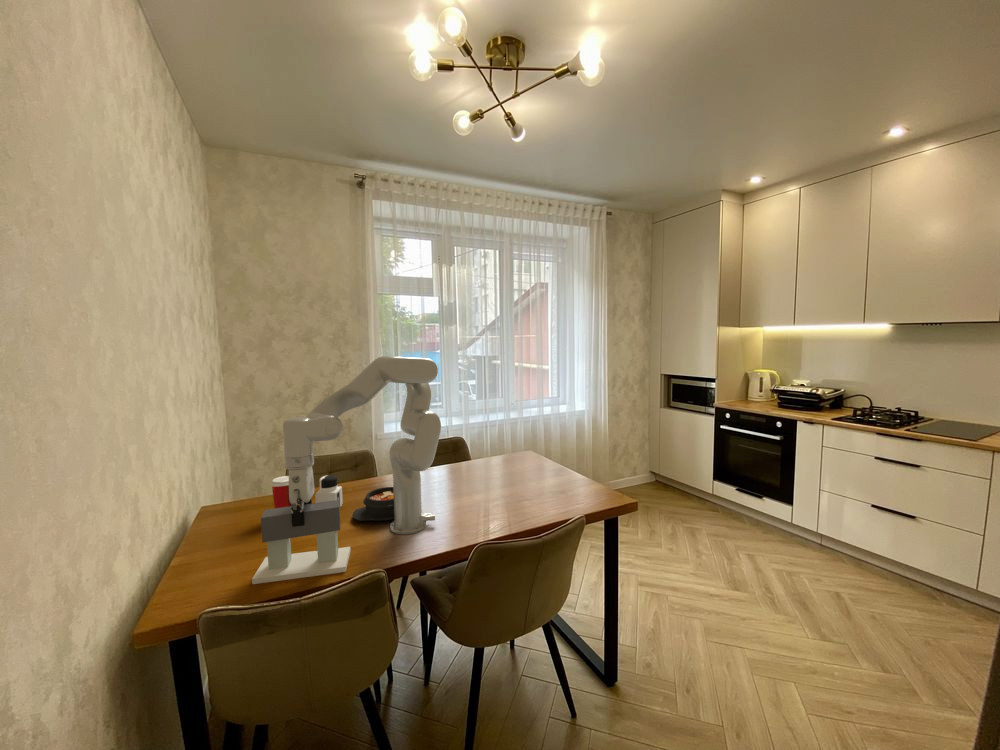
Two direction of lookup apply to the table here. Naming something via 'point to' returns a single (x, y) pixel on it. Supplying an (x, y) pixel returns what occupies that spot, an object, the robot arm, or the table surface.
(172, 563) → the table surface
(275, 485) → the coffee cup
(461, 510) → the table surface
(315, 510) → the bar
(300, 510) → the robot arm
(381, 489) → the casserole
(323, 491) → the container
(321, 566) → the stand
